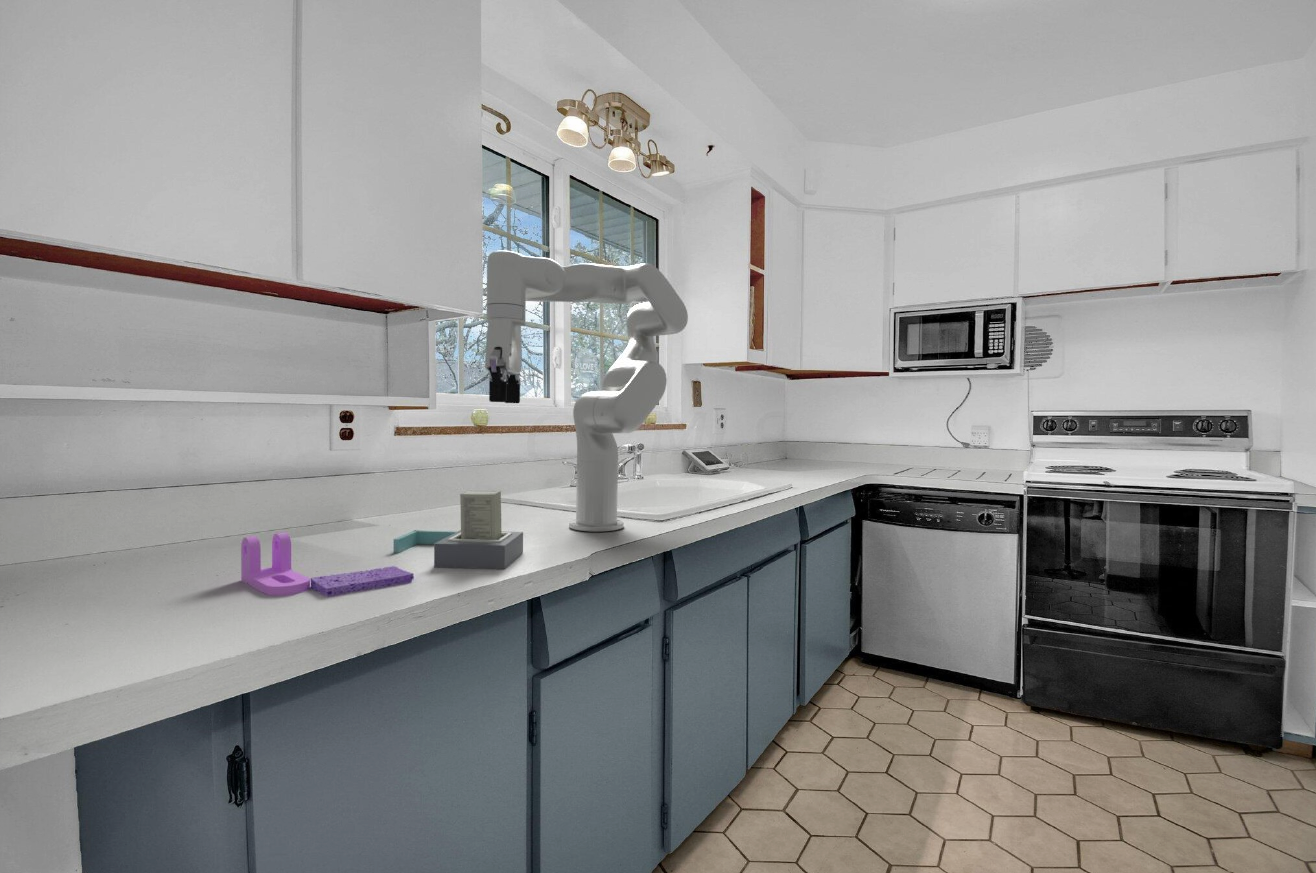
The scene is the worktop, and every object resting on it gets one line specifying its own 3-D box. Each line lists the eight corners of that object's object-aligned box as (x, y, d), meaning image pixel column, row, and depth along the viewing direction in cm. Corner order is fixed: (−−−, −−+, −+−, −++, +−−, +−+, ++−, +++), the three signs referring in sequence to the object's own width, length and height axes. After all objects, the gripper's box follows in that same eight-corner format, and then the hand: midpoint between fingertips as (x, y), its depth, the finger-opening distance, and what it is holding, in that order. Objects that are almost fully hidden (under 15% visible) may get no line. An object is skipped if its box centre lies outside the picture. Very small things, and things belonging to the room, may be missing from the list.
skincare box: (502, 557, 111) (502, 490, 110) (494, 563, 106) (495, 494, 106) (468, 556, 111) (468, 490, 111) (459, 562, 107) (459, 493, 106)
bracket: (241, 581, 93) (241, 535, 93) (281, 574, 97) (281, 531, 97) (273, 598, 85) (273, 549, 84) (316, 590, 89) (316, 543, 89)
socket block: (459, 551, 115) (460, 528, 115) (523, 553, 114) (523, 530, 114) (434, 567, 103) (434, 541, 103) (504, 569, 102) (504, 543, 102)
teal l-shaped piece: (414, 542, 122) (414, 530, 122) (469, 544, 121) (469, 531, 121) (393, 552, 113) (393, 539, 113) (452, 554, 112) (452, 540, 112)
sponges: (310, 590, 90) (310, 577, 90) (395, 575, 99) (395, 564, 99) (325, 601, 85) (325, 587, 85) (414, 584, 94) (414, 572, 94)
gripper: (500, 322, 130) (499, 403, 130) (472, 308, 113) (471, 401, 113) (535, 323, 130) (534, 403, 130) (512, 308, 112) (511, 401, 113)
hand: (505, 402), depth 122 cm, fingers open, 9 cm apart
